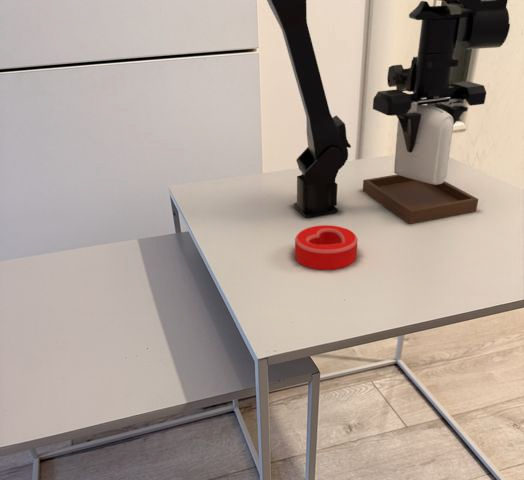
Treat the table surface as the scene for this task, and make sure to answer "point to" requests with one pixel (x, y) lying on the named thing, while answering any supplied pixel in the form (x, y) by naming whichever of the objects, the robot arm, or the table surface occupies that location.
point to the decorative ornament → (326, 247)
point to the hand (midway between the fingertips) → (422, 150)
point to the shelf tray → (419, 198)
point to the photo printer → (426, 147)
